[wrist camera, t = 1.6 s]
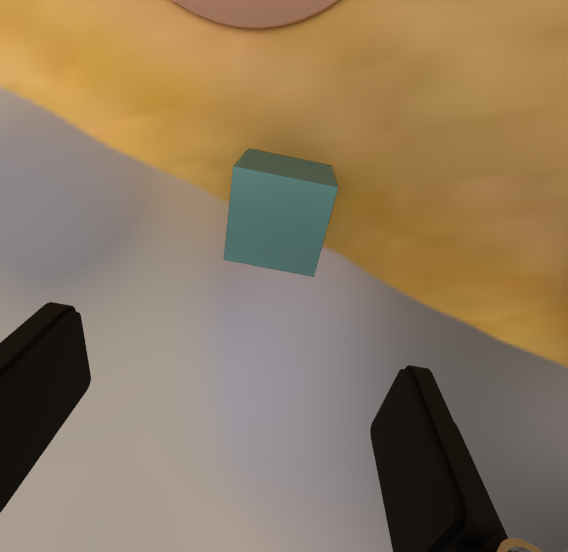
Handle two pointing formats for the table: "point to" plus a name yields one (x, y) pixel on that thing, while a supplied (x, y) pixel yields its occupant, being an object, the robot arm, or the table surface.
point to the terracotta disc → (256, 11)
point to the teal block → (279, 211)
